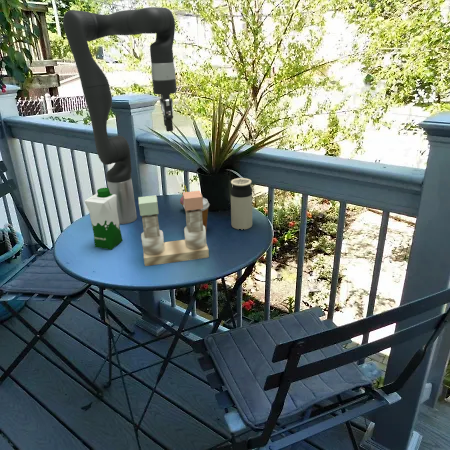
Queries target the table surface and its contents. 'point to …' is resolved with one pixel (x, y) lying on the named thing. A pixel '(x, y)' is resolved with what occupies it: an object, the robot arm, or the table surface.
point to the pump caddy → (174, 250)
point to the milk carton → (104, 219)
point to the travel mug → (241, 203)
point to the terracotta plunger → (192, 200)
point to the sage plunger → (148, 205)
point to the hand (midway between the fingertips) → (168, 128)
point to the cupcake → (182, 196)
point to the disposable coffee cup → (204, 212)
